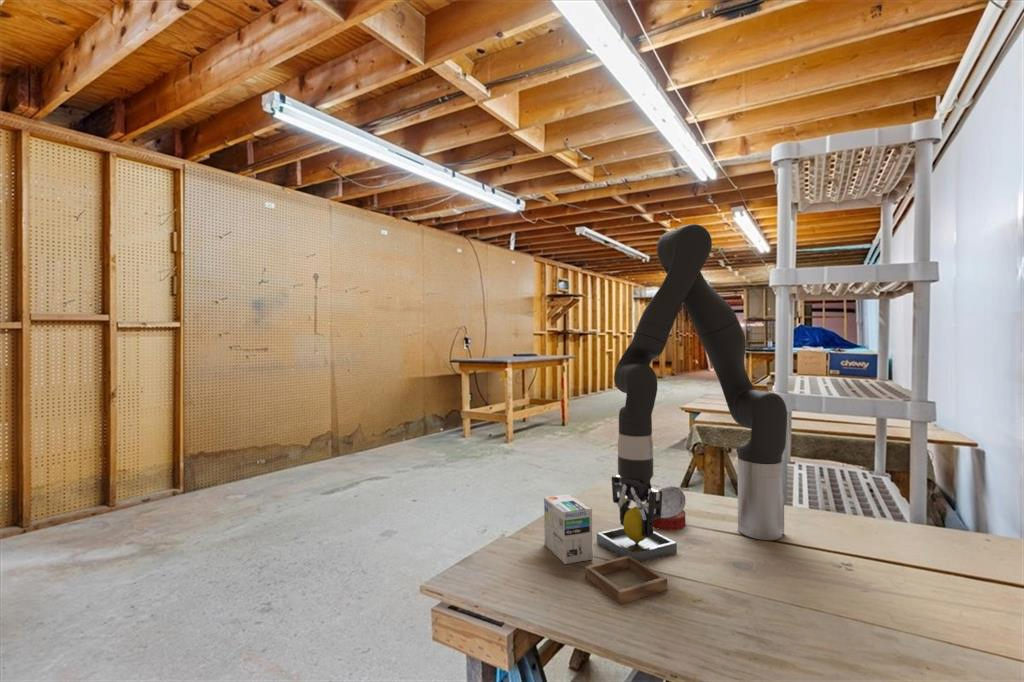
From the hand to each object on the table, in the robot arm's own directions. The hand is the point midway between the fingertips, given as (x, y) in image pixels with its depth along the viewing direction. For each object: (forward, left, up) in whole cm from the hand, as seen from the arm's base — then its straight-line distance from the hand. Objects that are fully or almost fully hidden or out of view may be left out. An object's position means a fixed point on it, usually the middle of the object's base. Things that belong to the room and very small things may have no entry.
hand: (635, 530), depth 106 cm
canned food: (-16, -8, -4) cm, 18 cm away
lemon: (0, 0, -3) cm, 3 cm away
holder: (+12, +11, -4) cm, 17 cm away
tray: (0, 0, -4) cm, 4 cm away
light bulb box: (+14, -5, -4) cm, 16 cm away
